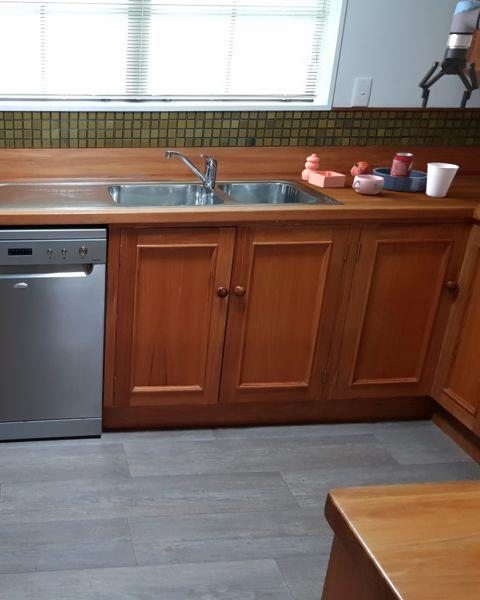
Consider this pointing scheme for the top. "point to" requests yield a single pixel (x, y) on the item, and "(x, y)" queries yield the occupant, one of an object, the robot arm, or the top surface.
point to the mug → (368, 184)
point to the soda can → (402, 165)
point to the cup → (439, 178)
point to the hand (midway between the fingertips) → (442, 108)
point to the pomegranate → (360, 169)
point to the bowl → (402, 180)
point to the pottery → (321, 175)
